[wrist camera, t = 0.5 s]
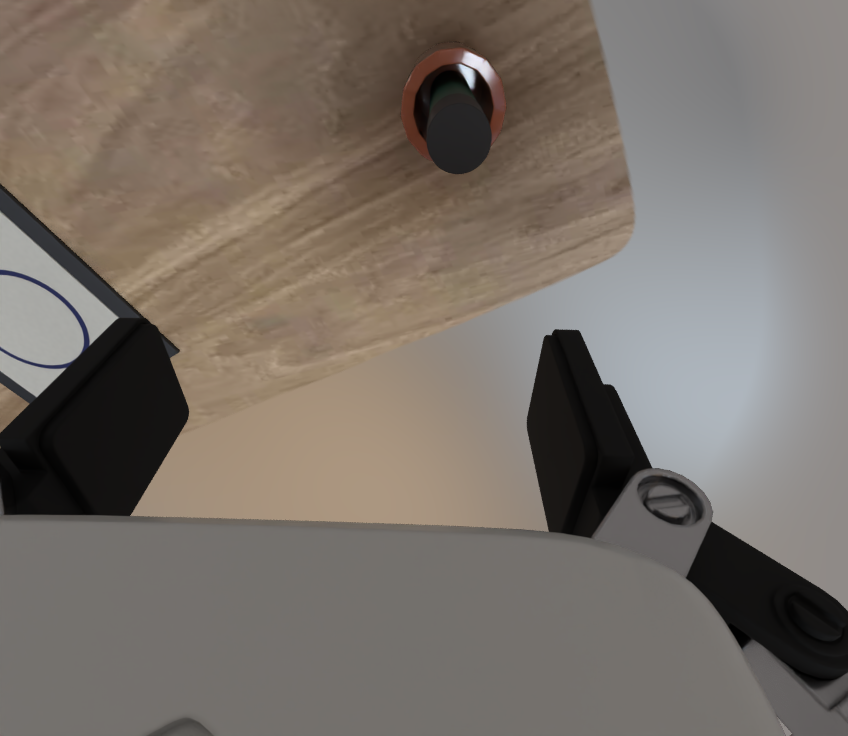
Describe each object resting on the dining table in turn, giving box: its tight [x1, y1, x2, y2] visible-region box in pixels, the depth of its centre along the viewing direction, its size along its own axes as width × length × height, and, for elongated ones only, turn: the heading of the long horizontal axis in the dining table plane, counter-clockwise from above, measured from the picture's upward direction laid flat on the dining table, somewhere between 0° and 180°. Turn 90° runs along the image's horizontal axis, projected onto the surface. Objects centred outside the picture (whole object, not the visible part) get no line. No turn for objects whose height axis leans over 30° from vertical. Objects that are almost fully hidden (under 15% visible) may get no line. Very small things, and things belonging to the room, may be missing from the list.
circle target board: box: [0, 185, 179, 403], centre depth 37 cm, size 16×16×1 cm
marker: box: [426, 70, 492, 174], centre depth 22 cm, size 2×2×13 cm
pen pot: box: [401, 41, 506, 161], centre depth 25 cm, size 5×5×7 cm
